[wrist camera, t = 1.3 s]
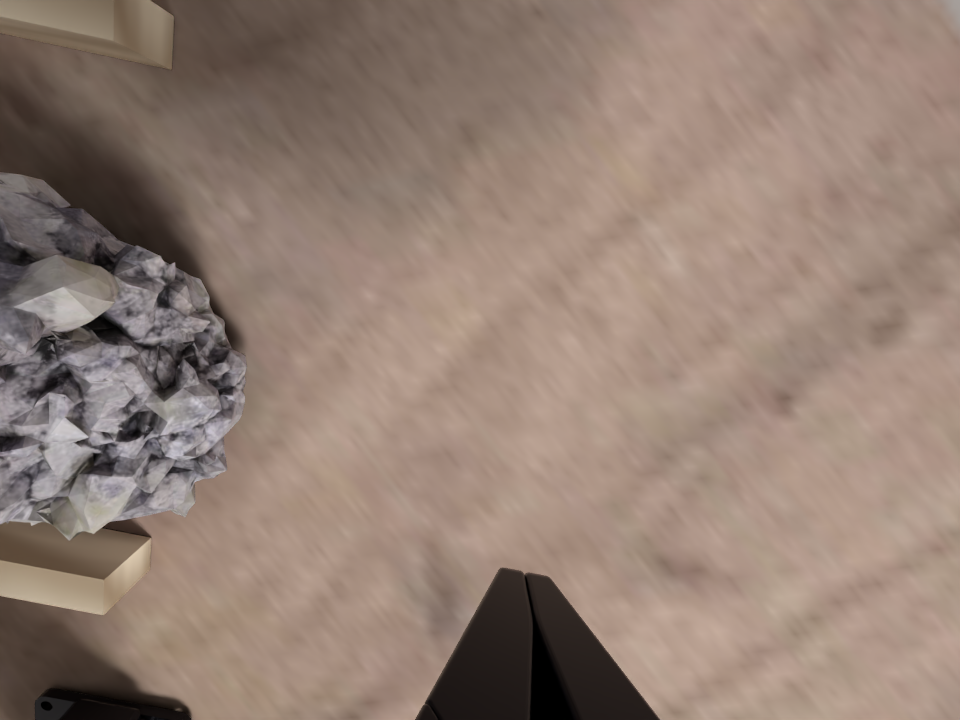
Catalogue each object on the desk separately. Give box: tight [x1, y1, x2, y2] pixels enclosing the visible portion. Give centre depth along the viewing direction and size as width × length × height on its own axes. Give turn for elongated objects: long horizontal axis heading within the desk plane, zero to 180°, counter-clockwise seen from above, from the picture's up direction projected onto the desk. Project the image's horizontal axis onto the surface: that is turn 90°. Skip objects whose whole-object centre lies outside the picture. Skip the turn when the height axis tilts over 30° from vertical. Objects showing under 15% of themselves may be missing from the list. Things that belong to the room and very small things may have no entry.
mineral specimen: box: [0, 172, 247, 541], centre depth 15 cm, size 12×9×10 cm
